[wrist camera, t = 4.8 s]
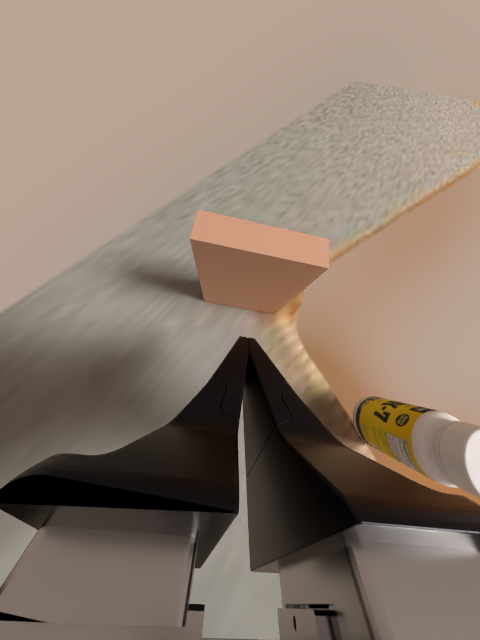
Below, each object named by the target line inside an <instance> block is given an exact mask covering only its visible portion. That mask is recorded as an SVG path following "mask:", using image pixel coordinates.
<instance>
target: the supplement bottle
mask: <svg viewBox="0 0 480 640" xmlns="http://www.w3.org/2000/svg"><path fill="white" fill-rule="evenodd" d="M353 422H354V426H355V429H356V431H357V433H358V435H359V436H360V437H361V438H362V440H363V441H365V442H366V443H367V444H369V445H370V446H373V447H374V448H376V449H378V450H380V451H381V452H383V453H385V454H387V455H388V456H390V457H392V458H394V459H396V460H398V461H399V462H401V463H403V464H405V465H407V466H408V467H410V468H412V469H414V470H416V471H417V472H419V473H421V474H423V475H425V476H426V477H428V478H430V479H432V480H433V481H436V482H438V483H440V484H442V485H445V486H448V487H459V488H461V489H463V490H464V491H466V492H468V493H470V494H472V495H474V496H476V497H478V498H480V426H477V425H474V424H471V423H468V422H460V421H459V420H458V419H456V418H455V417H453V416H451V415H449V414H447V413H444V412H440V411H436V410H432V409H428V408H423V407H419V406H414V405H410V404H405V403H401V402H396V401H392V400H387V399H382V398H378V397H365V398H363V399H362V400H360V401H359V402H358V403H357V405H356V406H355V409H354V412H353Z"/></svg>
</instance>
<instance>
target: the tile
mask: <svg viewBox="0 0 480 640" xmlns="http://www.w3.org/2000/svg"><path fill="white" fill-rule="evenodd" d="M190 241H191V245H192V250H193V254H194V258H195V263H196V267H197V271H198V276H199V280H200V284H201V289H202V293H203V297H204V301H205V302H211V303H216V304H221V305H227V306H232V307H238V308H243V309H248V310H254V311H259V312H264V313H270V314H276V313H277V312H278V311H279V310H280V309H281V308H283V307H284V306H285V305H286V304H287V303H288V302H290V301H291V300H292V299H293V298H294V297H296V296H297V295H298V294H299V293H300V292H301V291H303V290H304V289H305V288H306V287H307V286H308V285H310V284H311V283H312V282H313V281H314V280H315V279H317V278H318V277H319V276H320V275H321V274H323V273H324V272H325V271H326V270H327V269H328V268H329V239H326V238H322V237H317V236H313V235H308V234H304V233H300V232H295V231H291V230H286V229H282V228H278V227H273V226H269V225H264V224H260V223H256V222H251V221H247V220H242V219H238V218H234V217H229V216H225V215H221V214H216V213H212V212H207V211H203V210H198V211H197V214H196V218H195V222H194V225H193V229H192V233H191V237H190Z"/></svg>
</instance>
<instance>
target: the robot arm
mask: <svg viewBox="0 0 480 640" xmlns="http://www.w3.org/2000/svg"><path fill="white" fill-rule="evenodd" d="M242 398H243V419H244V441H245V462H246V478H247V479H246V485H247V507H248V529H249V550H250V570H251V571H252V572H268V573H279V575H280V585H281V595H282V606H283V608H278V621H279V633H280V640H480V504H478V503H476V502H474V501H472V500H470V499H468V498H467V497H464V496H461V495H453V494H446V493H441V492H438V491H435V490H432V489H430V488H427V487H425V486H423V485H421V484H419V483H417V482H414V481H412V480H410V479H408V478H406V477H404V476H403V475H401V474H398V473H397V472H395V471H393V470H391V469H389V468H387V467H385V466H383V465H381V464H379V463H377V462H375V461H373V460H371V459H369V458H367V457H365V456H364V455H362V454H360V453H358V452H356V451H354V450H352V449H350V448H348V447H347V446H345V445H344V444H342V443H341V442H340V441H339V440H338V439H336V438H335V437H334V436H333V435H332V434H331V433H330V431H329V430H328V429H327V428H326V427H325V426H324V425H323V424H322V423H321V421H320V420H319V419H318V418H317V417H316V416H315V415H314V414H313V413H312V411H311V410H310V409H309V408H308V407H307V406H306V405H305V404H304V402H303V401H302V400H301V399H300V398H299V396H298V395H297V394H296V393H295V391H294V390H293V389H292V388H291V386H290V385H289V384H288V383H287V381H286V380H285V378H284V377H283V376H282V374H281V373H280V372H279V370H278V369H277V368H276V366H275V365H274V364H273V362H272V361H271V360H270V358H269V357H268V356H267V354H266V353H265V352H264V350H263V349H262V348H261V346H260V345H259V344H258V342H257V341H256V340H255V339H253V338H247V337H242V336H240V337H239V338H238V340H237V341H236V343H235V344H234V346H233V347H232V348H231V350H230V351H229V353H228V354H227V356H226V357H225V359H224V360H223V361H222V363H221V364H220V366H219V367H218V369H217V370H216V372H215V373H214V374H213V376H212V377H211V378H210V380H209V381H208V382H207V384H206V385H205V386H204V387H203V388H202V390H201V391H200V392H199V393H198V394H197V395H196V396H195V397H194V398H193V399H192V400H191V401H190V402H189V404H188V405H187V406H186V407H185V408H184V409H183V410H182V411H181V412H180V413H179V414H178V415H177V416H176V417H175V418H174V419H173V420H172V421H170V422H169V423H168V424H166V425H165V426H163V427H161V428H159V429H157V430H155V431H153V432H151V433H150V434H148V435H146V436H144V437H142V438H140V439H138V440H136V441H134V442H132V443H130V444H128V445H126V446H124V447H122V448H120V449H118V450H116V451H113V452H110V453H106V454H101V455H80V454H67V453H66V454H58V455H54V456H51V457H49V458H47V459H45V460H43V461H42V462H40V463H38V464H36V465H35V466H33V467H31V468H29V469H28V470H26V471H24V472H23V473H21V474H20V475H18V476H17V477H15V478H14V479H13V480H11V481H10V482H9V483H7V484H6V485H5V486H4V487H3V488H1V489H0V509H1V510H3V511H5V512H6V513H8V514H10V515H12V516H14V517H16V518H17V519H19V520H21V521H23V522H25V523H27V524H28V525H30V526H32V527H34V528H36V529H37V530H38V531H37V533H36V534H35V536H34V537H33V539H32V540H31V542H30V543H29V545H28V546H27V548H26V550H25V551H24V553H23V554H22V556H21V557H20V559H19V560H18V562H17V563H16V565H15V566H14V568H13V569H12V571H11V572H10V574H9V575H8V577H7V578H6V580H5V581H4V583H3V584H2V586H1V588H0V640H256V639H219V638H202V628H203V618H204V606H205V605H201V604H189V602H190V595H191V588H192V581H193V574H194V568H201V566H202V565H203V564H204V562H205V561H206V559H207V558H208V556H209V555H210V553H211V552H212V551H213V549H214V548H215V546H216V545H217V543H218V542H219V540H220V539H221V538H222V536H223V535H224V533H225V532H226V530H227V529H228V528H229V526H230V525H231V523H232V522H233V520H234V519H235V517H236V516H237V515H238V512H239V469H238V427H239V419H240V412H241V405H242Z"/></svg>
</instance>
